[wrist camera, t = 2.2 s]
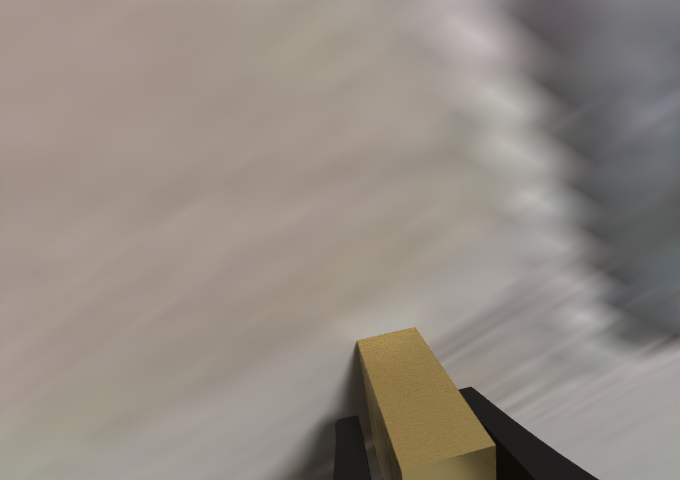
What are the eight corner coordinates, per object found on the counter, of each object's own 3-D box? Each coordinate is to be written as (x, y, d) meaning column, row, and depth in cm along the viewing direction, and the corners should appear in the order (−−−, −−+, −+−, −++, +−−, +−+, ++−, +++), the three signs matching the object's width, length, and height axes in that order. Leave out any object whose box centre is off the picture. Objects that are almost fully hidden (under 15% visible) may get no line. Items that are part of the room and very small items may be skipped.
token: (414, 326, 11) (495, 445, 7) (425, 438, 12) (498, 594, 8) (356, 339, 11) (401, 470, 6) (375, 451, 12) (421, 617, 8)
